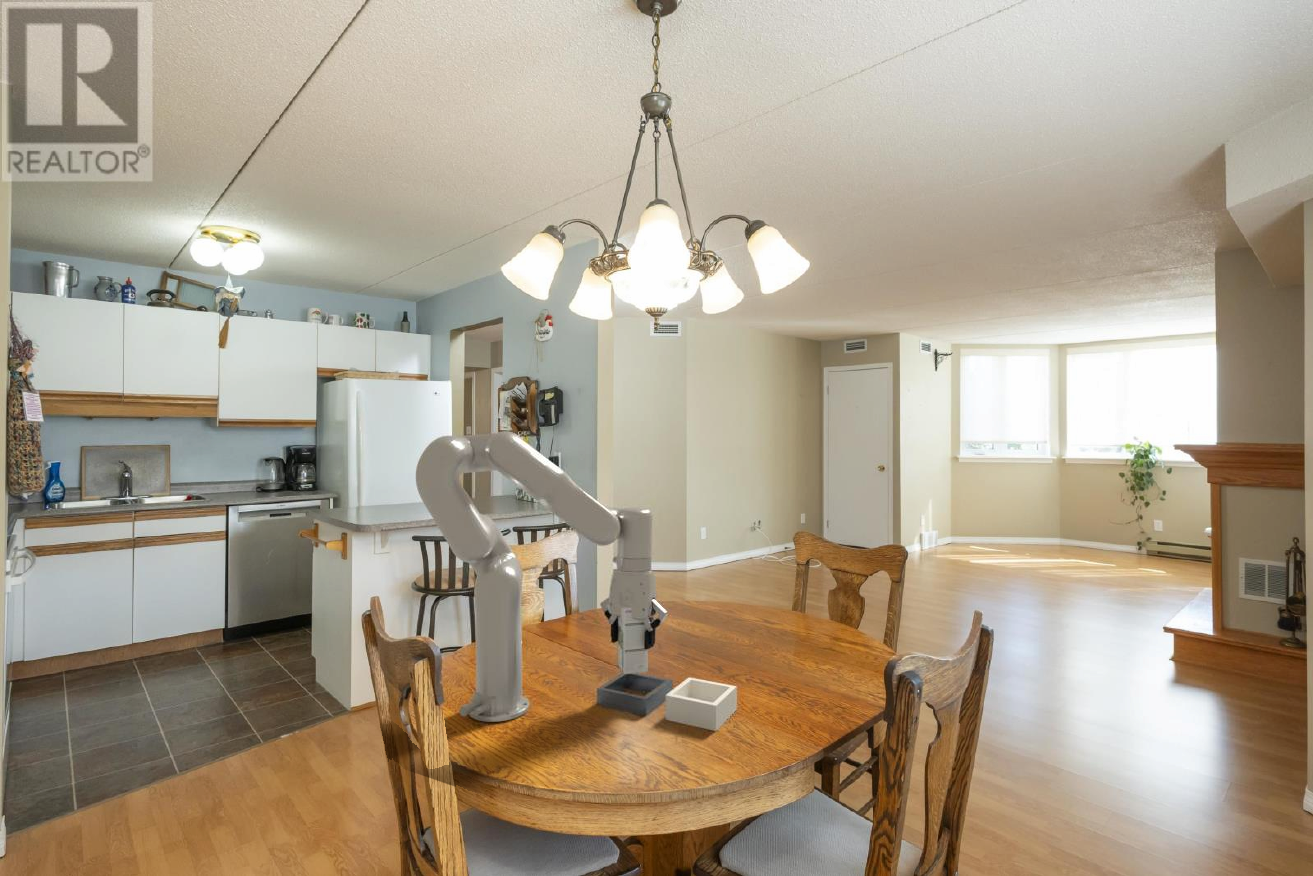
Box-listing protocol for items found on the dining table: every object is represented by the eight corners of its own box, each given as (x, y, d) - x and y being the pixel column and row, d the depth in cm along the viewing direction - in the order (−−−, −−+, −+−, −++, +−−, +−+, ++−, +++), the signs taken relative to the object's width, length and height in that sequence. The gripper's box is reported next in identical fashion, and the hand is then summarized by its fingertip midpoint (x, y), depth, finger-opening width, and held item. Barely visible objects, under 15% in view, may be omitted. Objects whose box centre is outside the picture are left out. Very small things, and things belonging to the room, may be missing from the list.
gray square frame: (646, 716, 133) (646, 699, 133) (596, 705, 139) (596, 688, 139) (672, 695, 144) (672, 680, 144) (625, 686, 150) (625, 670, 150)
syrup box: (648, 672, 140) (649, 605, 140) (622, 674, 138) (623, 607, 138) (641, 663, 145) (642, 599, 145) (616, 665, 143) (617, 600, 143)
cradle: (716, 731, 126) (716, 705, 126) (665, 719, 132) (665, 695, 132) (736, 710, 136) (736, 686, 136) (689, 700, 142) (689, 677, 142)
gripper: (591, 562, 142) (589, 642, 142) (661, 571, 134) (659, 656, 134) (609, 557, 149) (608, 633, 149) (677, 566, 141) (675, 646, 141)
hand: (632, 644), depth 142 cm, fingers closed on syrup box, 7 cm apart
